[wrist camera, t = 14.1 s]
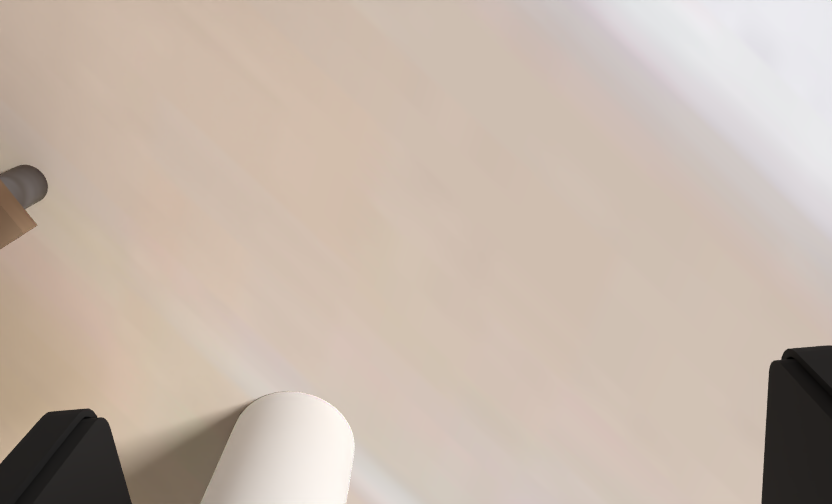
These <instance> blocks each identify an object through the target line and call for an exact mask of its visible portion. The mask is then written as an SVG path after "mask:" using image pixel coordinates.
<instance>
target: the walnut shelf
mask: <svg viewBox="0 0 832 504" xmlns="http://www.w3.org/2000/svg"><path fill="white" fill-rule="evenodd" d="M47 190H48V185H47V181H46V178H45V176H44V175H43V174H42V173H41V172H40V171H39V170H38V169H37V168H35V167H33V166H30V165H20V166H17V167H15V168H13V169H11V170H8V171H6V172H4V173H2V174H0V249H1V248H3V247H5V246H6V245H8V244H9V243H11V242H12V241H14V240H15V239H17V238H19V237H20V236H22V235H23V234H25V233H26V232H28V231H29V230H31V229H33V228H34V227H36V226H37V224H36V223H35V222H34V221H33V219H32V218H31V217H30V216H29V214H28V213H27V212H26V211H25V209H26V208H28V207H29V206H31V205H33V204H35V203H37V202H38V201H40V200H42V199H43V198H44V197H45V195H46V193H47Z"/></svg>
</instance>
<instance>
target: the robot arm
mask: <svg viewBox="0 0 832 504" xmlns="http://www.w3.org/2000/svg"><path fill="white" fill-rule="evenodd" d="M0 504H132V503H131V499H130V496H129V492H128V489H127V485H126V482H125V478H124V475H123V471H122V468H121V464H120V461H119V457H118V454H117V450H116V446H115V443H114V439H113V436H112V432H111V429H110V426H109V424H108V422H107V420H106V419H104V418H102V417H101V418H97V415H96V414H95V413H94V412H93V411H92V410H90V409H77V410H65V411H54V412H48V413H46V414H45V415H44V416H43V417H42V418H41V419H40V420H39V421H38V422H37V423H36V424H35V426H34V427H33V428H32V429H31V430H30V431H29V432H28V433H27V434H26V436H25V437H24V438H23V439H22V440H21V441H20V442H19V443H18V445H17V446H16V447H15V448H14V449H13V450H12V451H11V452H10V454H9V455H8V456H7V457H6V458H5V459H4V460H3V461H2V463H1V464H0ZM762 504H832V346H816V347H804V348H793V349H787V350H786V351H785V352H784V353H783V356H782V359H781V360H776V361H773V362H772V363H771V365H770V369H769V382H768V399H767V417H766V434H765V452H764V469H763V487H762Z"/></svg>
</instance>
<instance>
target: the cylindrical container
mask: <svg viewBox="0 0 832 504" xmlns="http://www.w3.org/2000/svg"><path fill="white" fill-rule="evenodd" d="M354 449H355V443H354V438H353V433H352V431H351V428H350V426H349V424H348V422H347V421H346V419H345V418H344V416H343V415H342V414H341V413H340V412H339V411H338V410H337V409H336V408H335V407H333V406H332V405H331V404H329V403H328V402H326V401H325V400H322V399H320V398H318V397H316V396H314V395H310V394H306V393H303V392H293V391H286V392H276V393H273V394H269V395H265V396H263V397H261V398H259V399H257V400H255V401H254V402H253V403H251V404H250V405H249V406H247V407H246V409H245V410H244V411H243V412H242V413H241V414H240V416H239V418H238V420H237V422H236V423H235V426H234V428H233V430H232V432H231V435H230V437H229V439H228V441H227V444H226V446H225V448H224V451H223V453H222V455H221V457H220V460H219V462H218V464H217V466H216V469H215V471H214V473H213V475H212V478H211V480H210V482H209V485H208V487H207V489H206V491H205V494H204V496H203V498H202V500H201V503H200V504H346V502H347V495H348V489H349V483H350V477H351V471H352V465H353V459H354Z"/></svg>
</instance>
